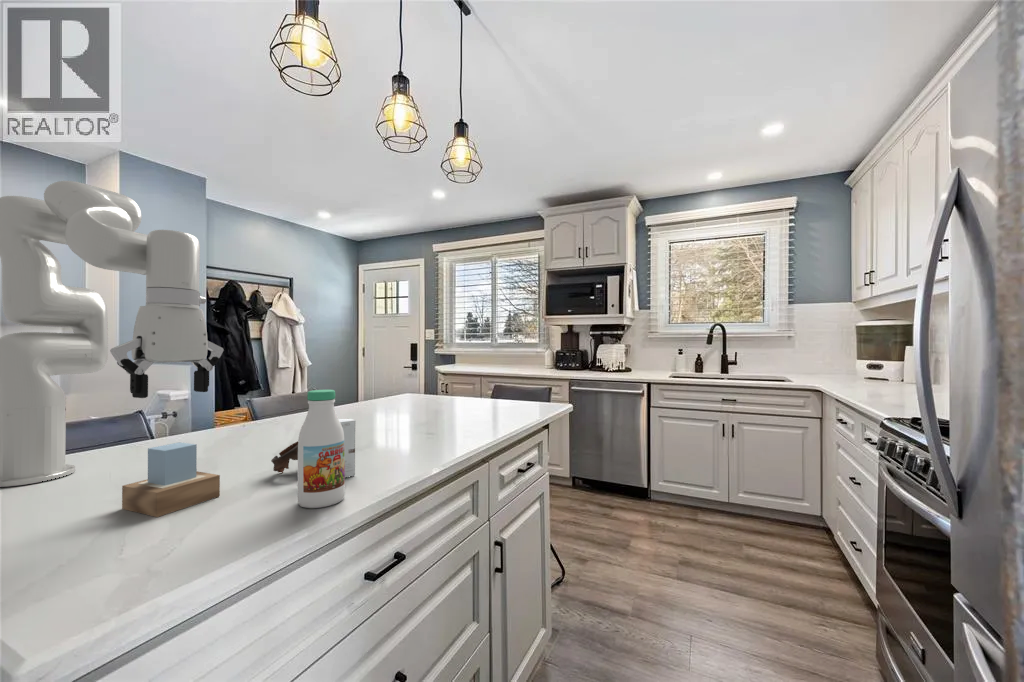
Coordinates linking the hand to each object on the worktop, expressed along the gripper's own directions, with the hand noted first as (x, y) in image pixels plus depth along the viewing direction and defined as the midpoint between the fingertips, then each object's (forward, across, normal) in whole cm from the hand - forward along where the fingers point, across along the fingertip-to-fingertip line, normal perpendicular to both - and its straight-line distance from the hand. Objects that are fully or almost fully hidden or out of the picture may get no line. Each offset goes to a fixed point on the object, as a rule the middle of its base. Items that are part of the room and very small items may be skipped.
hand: (172, 394), depth 75 cm
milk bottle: (+19, -10, +26) cm, 34 cm away
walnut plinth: (+20, 0, 0) cm, 20 cm away
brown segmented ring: (+20, -22, +8) cm, 30 cm away
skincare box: (+20, -22, +18) cm, 34 cm away
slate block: (+15, 0, 0) cm, 15 cm away
